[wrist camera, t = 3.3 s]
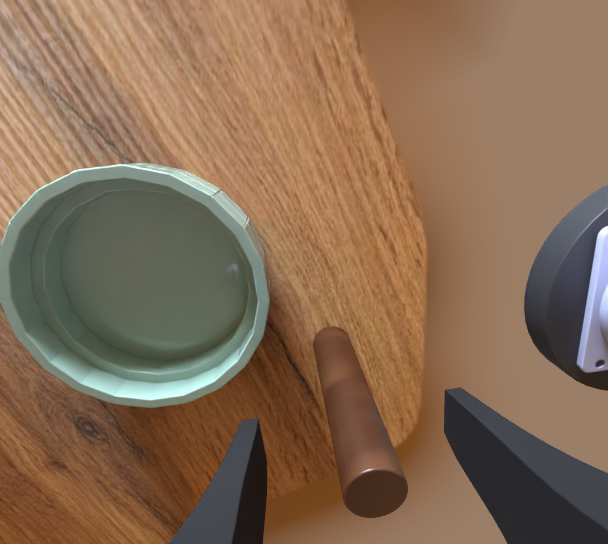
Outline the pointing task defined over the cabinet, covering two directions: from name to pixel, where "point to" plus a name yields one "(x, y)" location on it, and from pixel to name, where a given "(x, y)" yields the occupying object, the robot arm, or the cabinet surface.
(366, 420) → the stirring stick
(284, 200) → the cabinet surface
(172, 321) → the celadon bowl
